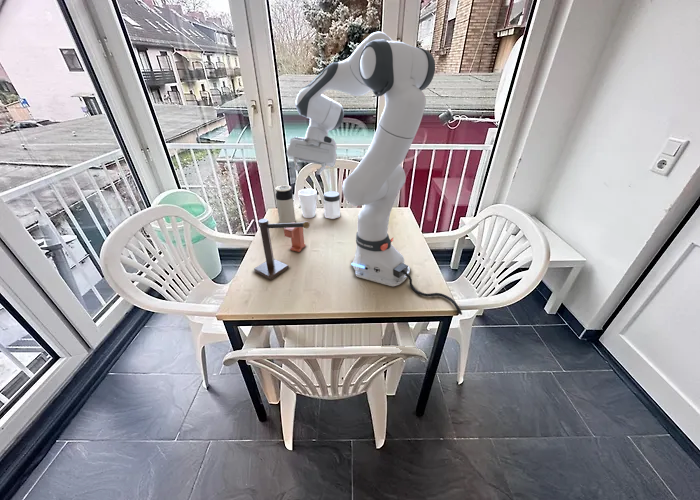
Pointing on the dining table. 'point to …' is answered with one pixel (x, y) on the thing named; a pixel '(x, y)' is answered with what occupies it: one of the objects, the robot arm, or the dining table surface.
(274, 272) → the peg stand
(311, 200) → the foam cup
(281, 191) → the travel mug
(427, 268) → the dining table surface
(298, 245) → the hook block
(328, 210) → the jar
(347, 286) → the dining table surface
